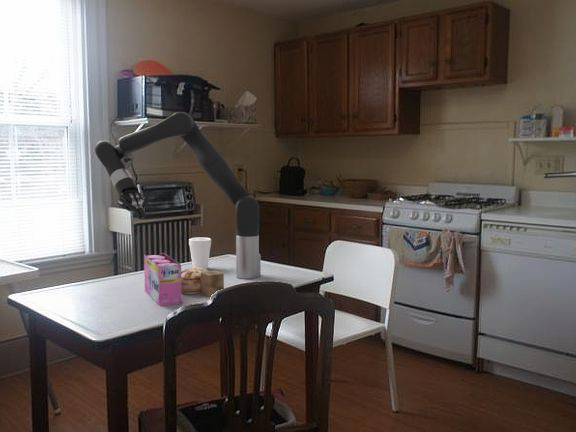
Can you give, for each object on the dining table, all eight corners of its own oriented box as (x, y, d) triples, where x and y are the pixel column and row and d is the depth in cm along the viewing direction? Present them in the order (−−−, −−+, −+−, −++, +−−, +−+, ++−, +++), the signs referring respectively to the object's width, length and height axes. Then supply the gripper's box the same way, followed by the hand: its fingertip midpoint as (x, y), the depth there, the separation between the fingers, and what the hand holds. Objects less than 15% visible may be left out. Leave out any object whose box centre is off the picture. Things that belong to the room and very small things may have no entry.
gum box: (143, 289, 201) (142, 253, 199) (164, 287, 204) (163, 252, 203) (159, 306, 180) (158, 266, 178) (182, 303, 183) (181, 264, 182)
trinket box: (209, 283, 211) (208, 263, 210) (217, 292, 197) (217, 271, 196) (174, 285, 207) (174, 265, 206) (180, 295, 193) (180, 274, 192)
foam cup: (209, 270, 233) (208, 241, 231) (187, 270, 233) (187, 240, 231) (212, 266, 242) (212, 237, 241) (191, 265, 242) (191, 237, 241)
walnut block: (215, 291, 199) (215, 270, 198) (223, 295, 194) (223, 273, 193) (201, 294, 195) (200, 272, 194) (208, 297, 190) (208, 275, 189)
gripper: (112, 177, 200) (131, 213, 193) (142, 176, 210) (161, 210, 203) (104, 190, 204) (123, 226, 197) (135, 189, 214) (153, 223, 207)
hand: (142, 218), depth 200 cm, fingers closed
